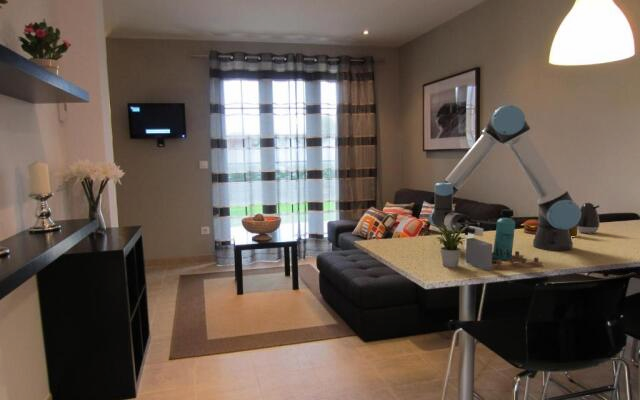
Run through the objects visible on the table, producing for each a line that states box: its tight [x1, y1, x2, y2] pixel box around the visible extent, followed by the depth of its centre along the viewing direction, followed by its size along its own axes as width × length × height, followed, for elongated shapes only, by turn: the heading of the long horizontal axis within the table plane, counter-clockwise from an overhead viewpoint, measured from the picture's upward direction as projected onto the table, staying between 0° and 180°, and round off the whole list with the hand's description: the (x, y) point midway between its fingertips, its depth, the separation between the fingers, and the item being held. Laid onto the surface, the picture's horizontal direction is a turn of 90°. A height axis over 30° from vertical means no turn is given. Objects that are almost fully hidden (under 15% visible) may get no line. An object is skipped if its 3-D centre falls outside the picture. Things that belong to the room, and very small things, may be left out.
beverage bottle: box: [492, 208, 516, 262], centre depth 162 cm, size 6×7×20 cm
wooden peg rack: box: [492, 250, 543, 271], centre depth 163 cm, size 20×12×3 cm, turn 101°
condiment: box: [569, 223, 578, 236], centre depth 214 cm, size 7×8×12 cm
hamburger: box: [520, 219, 538, 235], centre depth 225 cm, size 9×10×7 cm
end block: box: [465, 237, 493, 271], centre depth 160 cm, size 3×12×9 cm, turn 11°
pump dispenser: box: [577, 202, 600, 234], centre depth 222 cm, size 10×10×15 cm
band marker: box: [492, 255, 511, 265], centre depth 162 cm, size 3×12×1 cm, turn 11°
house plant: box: [432, 223, 468, 268], centre depth 161 cm, size 14×14×16 cm
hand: (497, 231), depth 161 cm, fingers open, 13 cm apart
